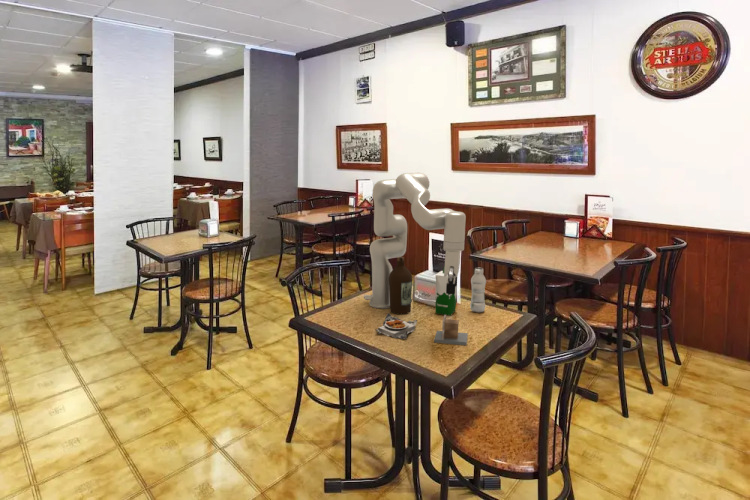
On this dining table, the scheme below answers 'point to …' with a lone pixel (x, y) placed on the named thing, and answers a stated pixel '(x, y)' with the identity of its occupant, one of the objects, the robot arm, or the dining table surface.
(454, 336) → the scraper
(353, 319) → the dining table surface
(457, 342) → the slate board
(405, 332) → the meal
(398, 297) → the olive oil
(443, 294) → the milk carton
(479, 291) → the plastic bottle
